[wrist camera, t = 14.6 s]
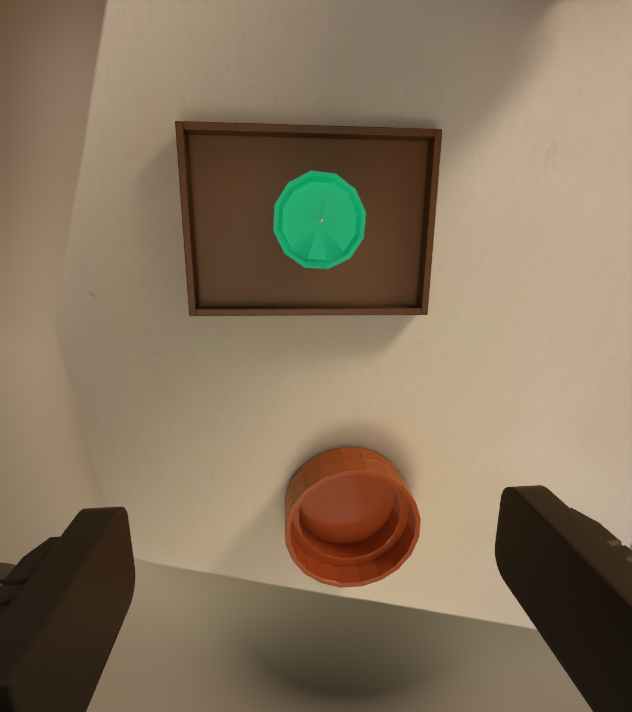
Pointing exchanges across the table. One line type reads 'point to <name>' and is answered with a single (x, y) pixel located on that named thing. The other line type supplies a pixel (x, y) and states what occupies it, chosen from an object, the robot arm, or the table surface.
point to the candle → (319, 220)
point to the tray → (256, 218)
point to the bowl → (350, 518)
